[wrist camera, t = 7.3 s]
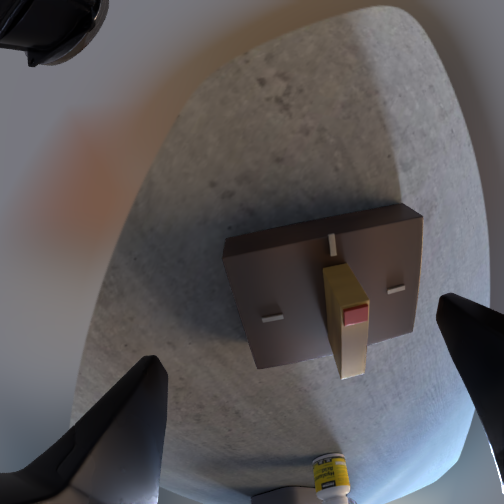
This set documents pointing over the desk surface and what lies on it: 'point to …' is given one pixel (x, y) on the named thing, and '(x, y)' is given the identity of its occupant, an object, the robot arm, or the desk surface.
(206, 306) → the desk surface
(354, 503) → the vase
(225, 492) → the desk surface
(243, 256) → the block
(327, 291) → the red-tabbed yellow block
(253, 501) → the streaming box
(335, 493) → the supplement bottle
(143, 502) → the robot arm
